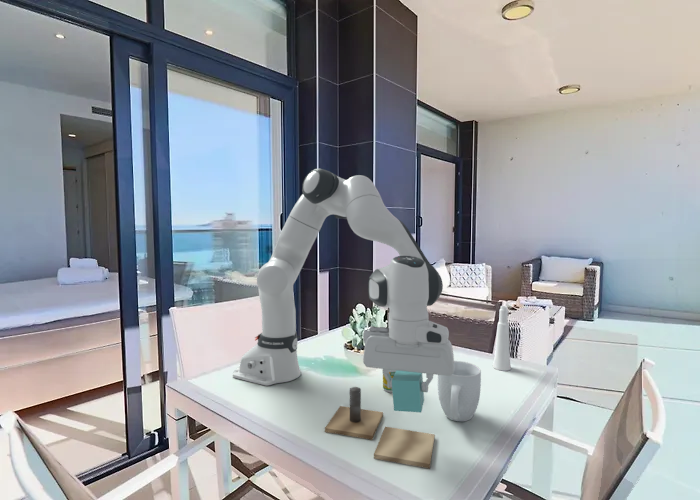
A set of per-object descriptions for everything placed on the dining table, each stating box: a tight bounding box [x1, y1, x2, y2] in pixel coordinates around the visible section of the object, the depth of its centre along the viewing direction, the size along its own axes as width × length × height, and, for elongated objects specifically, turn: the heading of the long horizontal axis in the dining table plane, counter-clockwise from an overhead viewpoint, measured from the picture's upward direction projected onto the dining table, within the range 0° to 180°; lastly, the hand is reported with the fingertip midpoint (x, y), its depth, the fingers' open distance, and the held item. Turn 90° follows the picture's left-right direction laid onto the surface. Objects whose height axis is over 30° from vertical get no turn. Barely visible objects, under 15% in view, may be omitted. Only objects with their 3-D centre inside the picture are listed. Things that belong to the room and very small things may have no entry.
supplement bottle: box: [382, 370, 396, 393], centre depth 121 cm, size 5×5×10 cm
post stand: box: [324, 386, 384, 441], centre depth 100 cm, size 12×12×9 cm
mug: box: [437, 360, 482, 423], centre depth 103 cm, size 15×11×13 cm
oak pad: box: [373, 426, 436, 469], centre depth 90 cm, size 12×12×1 cm
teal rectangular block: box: [392, 370, 425, 414], centre depth 89 cm, size 6×6×7 cm
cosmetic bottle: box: [492, 305, 512, 372], centre depth 138 cm, size 6×6×22 cm
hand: (407, 389), depth 89 cm, fingers closed on teal rectangular block, 6 cm apart
